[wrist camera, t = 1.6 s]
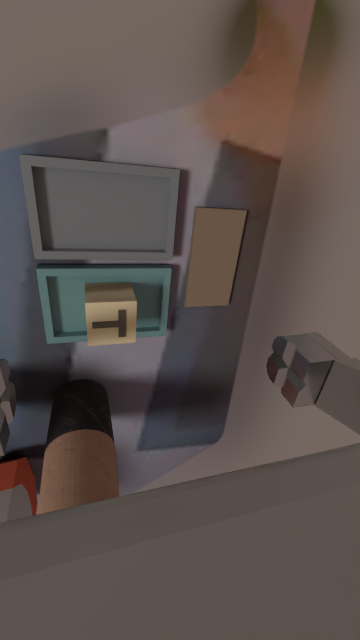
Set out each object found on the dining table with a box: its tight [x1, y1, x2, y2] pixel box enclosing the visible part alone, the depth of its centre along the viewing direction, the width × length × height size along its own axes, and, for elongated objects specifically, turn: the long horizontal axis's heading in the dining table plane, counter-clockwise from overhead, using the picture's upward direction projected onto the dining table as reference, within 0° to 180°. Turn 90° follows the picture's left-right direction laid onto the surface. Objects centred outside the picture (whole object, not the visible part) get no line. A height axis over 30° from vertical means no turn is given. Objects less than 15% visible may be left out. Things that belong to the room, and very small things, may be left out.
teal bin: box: [36, 264, 172, 344], centre depth 34 cm, size 9×14×2 cm, turn 84°
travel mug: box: [38, 379, 119, 514], centre depth 33 cm, size 8×8×20 cm
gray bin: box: [19, 154, 180, 260], centre depth 29 cm, size 9×14×2 cm, turn 84°
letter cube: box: [85, 282, 137, 346], centre depth 32 cm, size 5×5×5 cm
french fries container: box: [0, 457, 37, 523], centre depth 37 cm, size 5×11×18 cm, turn 0°
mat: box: [184, 207, 247, 307], centre depth 36 cm, size 12×6×1 cm, turn 174°
